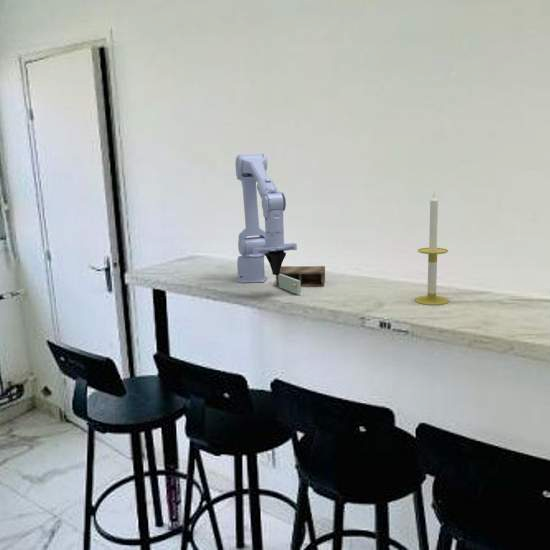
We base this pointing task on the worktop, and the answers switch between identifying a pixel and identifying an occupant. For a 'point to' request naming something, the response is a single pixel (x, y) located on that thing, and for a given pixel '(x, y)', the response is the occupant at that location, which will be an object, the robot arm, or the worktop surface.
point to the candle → (432, 259)
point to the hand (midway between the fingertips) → (276, 274)
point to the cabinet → (304, 275)
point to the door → (289, 284)
